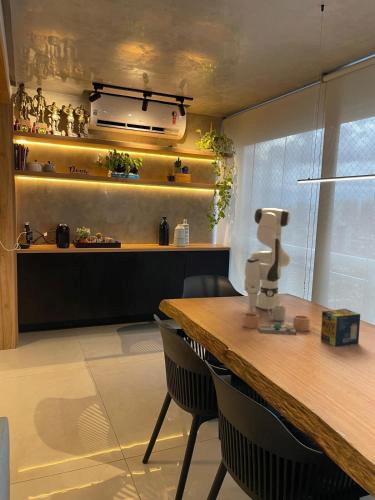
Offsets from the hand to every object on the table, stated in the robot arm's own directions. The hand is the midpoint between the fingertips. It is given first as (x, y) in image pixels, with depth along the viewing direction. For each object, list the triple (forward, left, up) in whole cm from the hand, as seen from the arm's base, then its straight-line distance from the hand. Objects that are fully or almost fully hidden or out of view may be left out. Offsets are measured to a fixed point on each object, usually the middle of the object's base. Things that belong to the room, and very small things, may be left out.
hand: (251, 310), depth 212 cm
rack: (+7, +14, -9) cm, 18 cm away
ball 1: (0, 0, +1) cm, 1 cm away
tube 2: (0, +28, -9) cm, 29 cm away
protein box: (+19, +44, -9) cm, 49 cm away
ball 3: (+7, +20, -6) cm, 22 cm away
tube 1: (0, 0, -9) cm, 9 cm away
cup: (-16, +16, -9) cm, 24 cm away
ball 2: (+7, +14, -6) cm, 17 cm away
